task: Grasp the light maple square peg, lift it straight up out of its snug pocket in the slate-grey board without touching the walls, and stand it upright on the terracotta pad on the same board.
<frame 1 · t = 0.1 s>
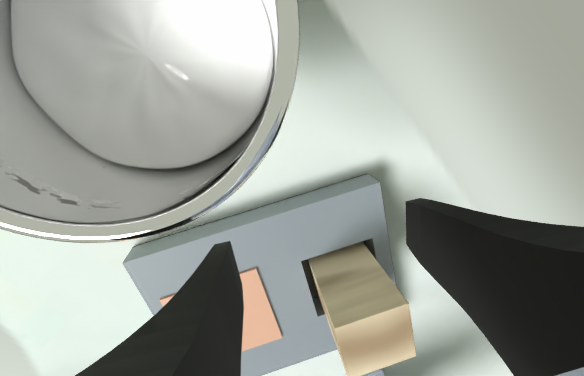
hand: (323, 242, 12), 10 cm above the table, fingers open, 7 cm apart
pocket board: (279, 282, 24), on the table
peg: (336, 263, 24), resting in pocket board
beer glass: (201, 68, 18), on the table
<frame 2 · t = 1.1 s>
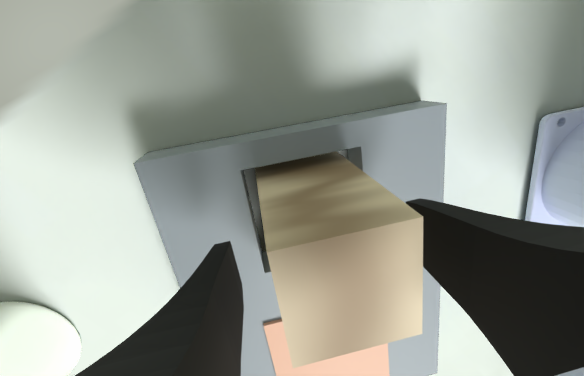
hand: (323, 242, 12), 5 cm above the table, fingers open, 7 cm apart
pocket board: (314, 271, 18), on the table
peg: (302, 197, 16), resting in pocket board
beer glass: (24, 340, 17), on the table
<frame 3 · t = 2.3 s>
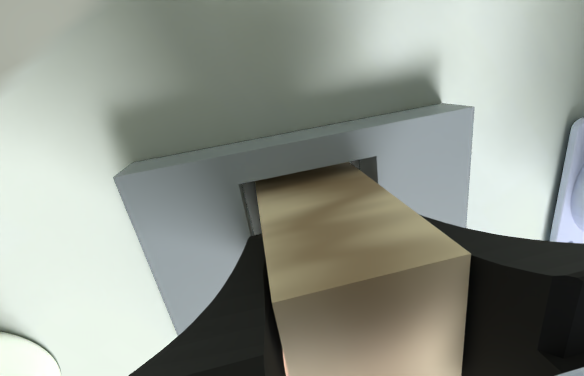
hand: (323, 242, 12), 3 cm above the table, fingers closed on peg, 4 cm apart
pocket board: (320, 292, 16), on the table
peg: (307, 211, 14), resting in pocket board, touching gripper
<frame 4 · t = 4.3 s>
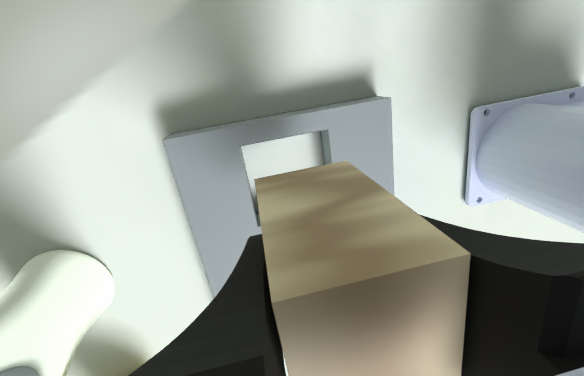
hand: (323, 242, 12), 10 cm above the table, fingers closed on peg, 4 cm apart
pocket board: (297, 231, 23), on the table
peg: (307, 211, 14), point 7 cm above the table, touching gripper
beer glass: (71, 283, 21), on the table
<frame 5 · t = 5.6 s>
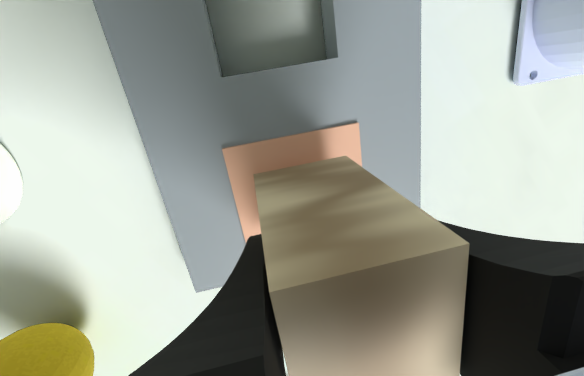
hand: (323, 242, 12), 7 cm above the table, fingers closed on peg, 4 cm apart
pocket board: (282, 111, 16), on the table
peg: (306, 207, 14), point 4 cm above the table, touching gripper
lemon: (70, 326, 19), on the table
when the fingers open (6 cm above the table, at t = 6.6 s): peg stays where it is, resting on pocket board.
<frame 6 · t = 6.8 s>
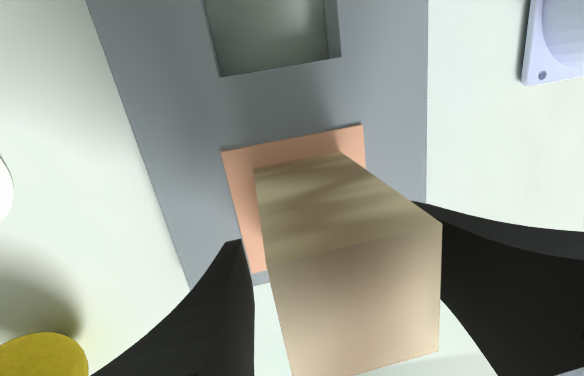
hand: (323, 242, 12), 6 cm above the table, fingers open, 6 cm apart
pocket board: (283, 112, 16), on the table
peg: (303, 200, 15), point 2 cm above the table, touching pocket board
lemon: (64, 335, 18), on the table
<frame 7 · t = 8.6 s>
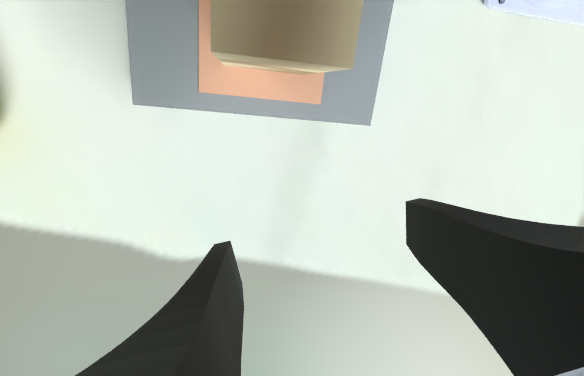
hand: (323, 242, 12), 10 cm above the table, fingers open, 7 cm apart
peg: (267, 26, 16), point 2 cm above the table, touching pocket board
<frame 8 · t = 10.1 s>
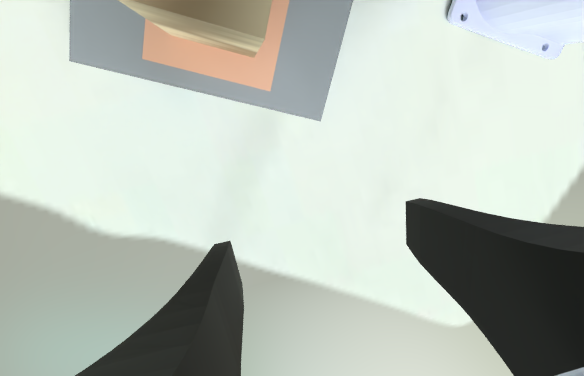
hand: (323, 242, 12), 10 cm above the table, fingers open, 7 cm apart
peg: (220, 2, 15), point 2 cm above the table, touching pocket board
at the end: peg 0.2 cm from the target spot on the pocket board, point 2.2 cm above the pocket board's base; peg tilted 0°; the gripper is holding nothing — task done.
